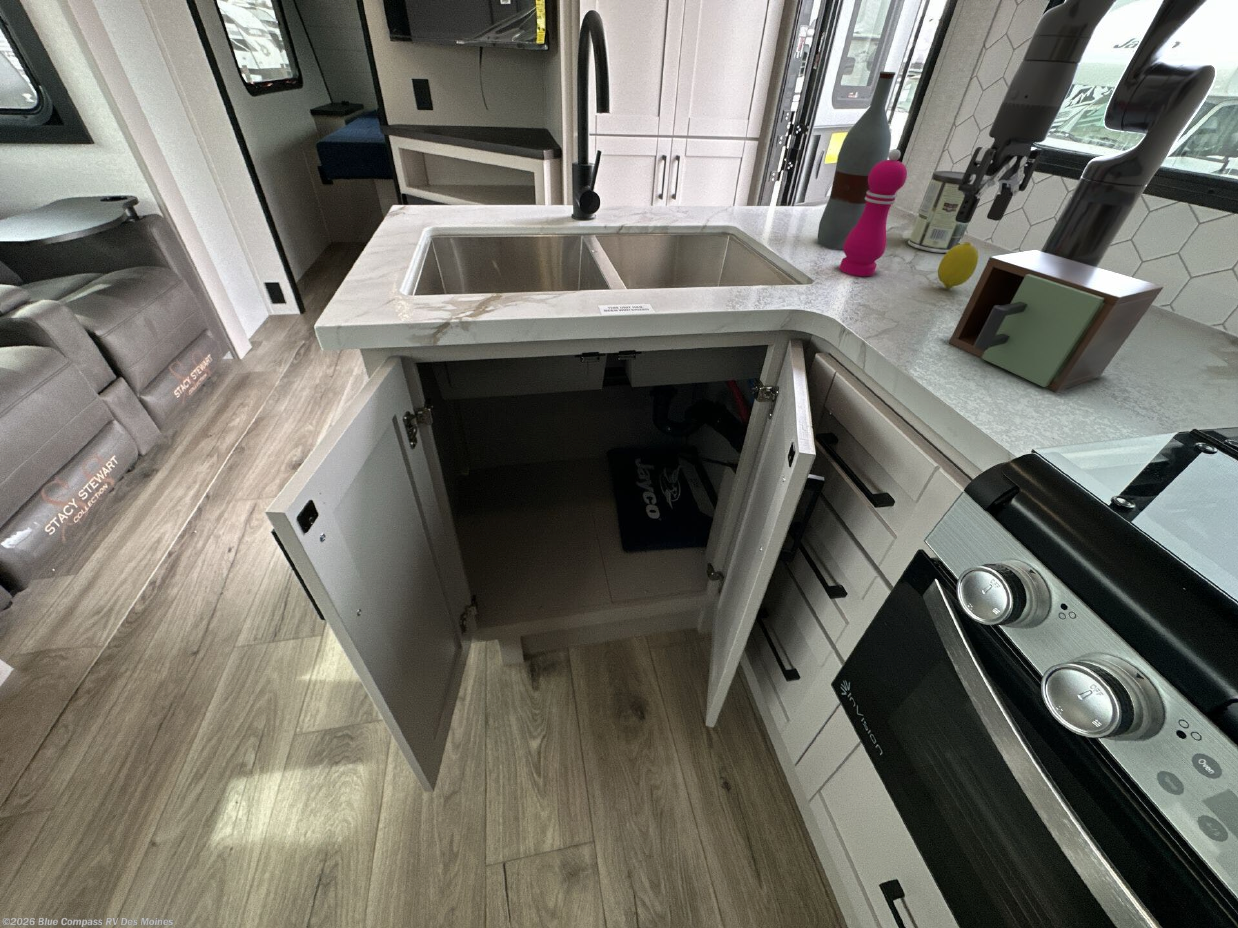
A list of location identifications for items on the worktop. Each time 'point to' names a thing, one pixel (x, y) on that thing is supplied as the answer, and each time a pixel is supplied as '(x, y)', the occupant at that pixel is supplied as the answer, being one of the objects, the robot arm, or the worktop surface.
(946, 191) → the coffee can
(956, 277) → the lemon
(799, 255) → the worktop surface
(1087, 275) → the cabinet
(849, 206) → the bottle
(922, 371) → the worktop surface
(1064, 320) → the door
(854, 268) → the pepper mill
